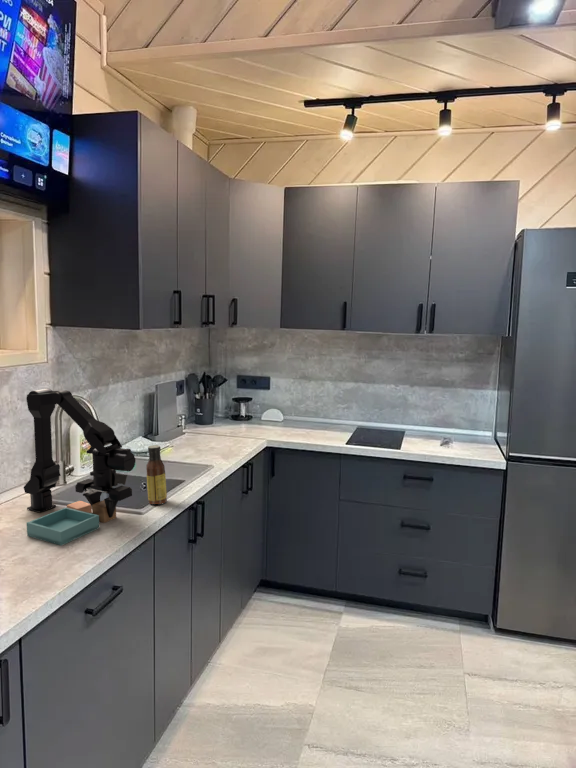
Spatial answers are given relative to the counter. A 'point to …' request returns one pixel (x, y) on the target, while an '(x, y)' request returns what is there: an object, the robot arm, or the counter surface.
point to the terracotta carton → (81, 506)
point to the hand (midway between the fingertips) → (104, 515)
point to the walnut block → (102, 512)
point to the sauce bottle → (156, 477)
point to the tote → (62, 526)
